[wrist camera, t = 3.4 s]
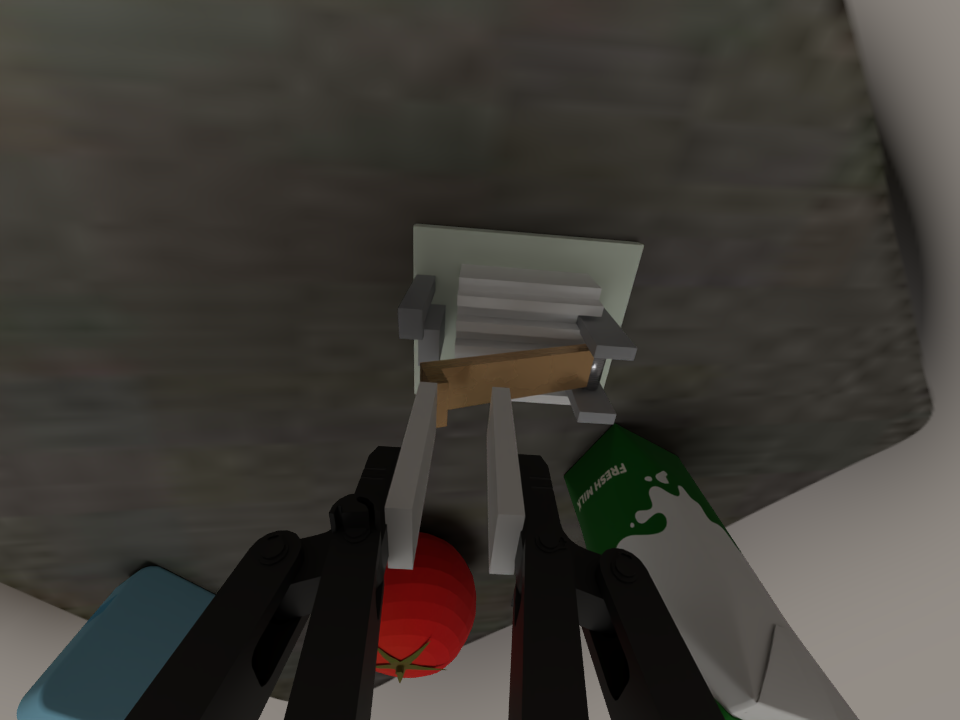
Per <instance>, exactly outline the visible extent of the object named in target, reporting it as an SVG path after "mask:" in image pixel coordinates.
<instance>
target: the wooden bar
mask: <svg viewBox="0 0 960 720" xmlns="http://www.w3.org/2000/svg"><path fill="white" fill-rule="evenodd" d="M605 362H606V359H603V358H594V357H593V356H592V354H591V352H590V350H589V349H588V347H587V345H586V344H579V345H570V346H561V347H552V348H543V349H535V350H526V351H517V352H508V353H500V354H491V355H482V356H473V357H465V358H456V359H447V360H438V361H430V362H421V363H420V382H431V383H437V414H436V428H438V427H444V426H447V410H449V409H455V408H461V407H467V406H473V405H479V404H485V403H490V402H491V393H492V387H503V388H510V395H511V399H516V398H522V397H528V396H534V395H540V394H546V393H552V392H558V391H565V390H571V389H577V388H583V389H585V390H589V391H595V390H597V389H598V387H599V384H600V380H601V376H602V373H603V369H604V365H605Z"/></svg>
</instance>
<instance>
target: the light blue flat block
mask: <svg viewBox="0 0 960 720" xmlns="http://www.w3.org/2000/svg"><path fill="white" fill-rule="evenodd" d="M214 597H215V594H213V593H211V592H209V591H207V590H205V589H203V588H201V587H199V586H197V585H195V584H193V583H191V582H189V581H187V580H185V579H183V578H181V577H179V576H177V575H175V574H173V573H171V572H169V571H167V570H165V569H163V568H161V567H158V566H149V567H145V568H143V569H141V570H139V571H138V572H136V573H135V574H134V575H132V576H131V577H130V578H128V579H127V580H126V581H124V582H123V583H122V584H120V585H119V586H118V587H117V588H116V589H115V590H114V591H113V592H112V593H111V594H110V596H109V597H108V598H107V599H106V600H105V601H104V603H103V604H102V605H101V606H100V607H99V609H98V610H97V611H96V612H95V613H94V614H93V616H92V617H91V618H90V619H89V620H88V621H87V623H86V624H85V625H84V626H83V627H82V629H81V630H80V631H79V632H78V633H77V635H76V636H75V637H74V638H73V639H72V641H70V643H69V644H68V645H67V646H66V647H65V649H64V650H63V651H62V652H61V653H60V654H59V656H58V657H57V658H56V659H55V660H54V661H53V663H52V664H51V665H50V666H49V667H48V668H47V670H46V671H45V672H44V673H43V674H42V676H41V677H40V678H39V679H38V680H37V681H36V683H35V684H34V685H33V686H32V687H31V689H30V690H29V691H28V692H27V693H26V694H25V696H24V697H23V699H22V700H21V702H20V704H19V706H18V709H17V719H18V720H124V719H125V718H126V716H127V715H128V714H129V712H130V711H131V710H132V708H133V707H134V706H135V704H136V703H137V701H138V700H139V699H140V697H141V696H142V695H143V693H144V692H145V691H146V689H147V688H148V686H149V685H150V684H151V682H152V681H153V680H154V678H155V677H156V676H157V674H158V673H159V671H160V670H161V669H162V667H163V666H164V665H165V663H166V662H167V661H168V659H169V658H170V656H171V655H172V654H173V652H174V651H175V650H176V648H177V647H178V646H179V644H180V643H181V642H182V640H183V639H184V637H185V636H186V635H187V633H188V632H189V631H190V629H191V628H192V627H193V625H194V624H195V622H196V621H197V620H198V618H199V617H200V616H201V614H202V613H203V612H204V610H205V609H206V607H207V606H208V605H209V603H210V602H211V601H212V599H213V598H214Z"/></svg>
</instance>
